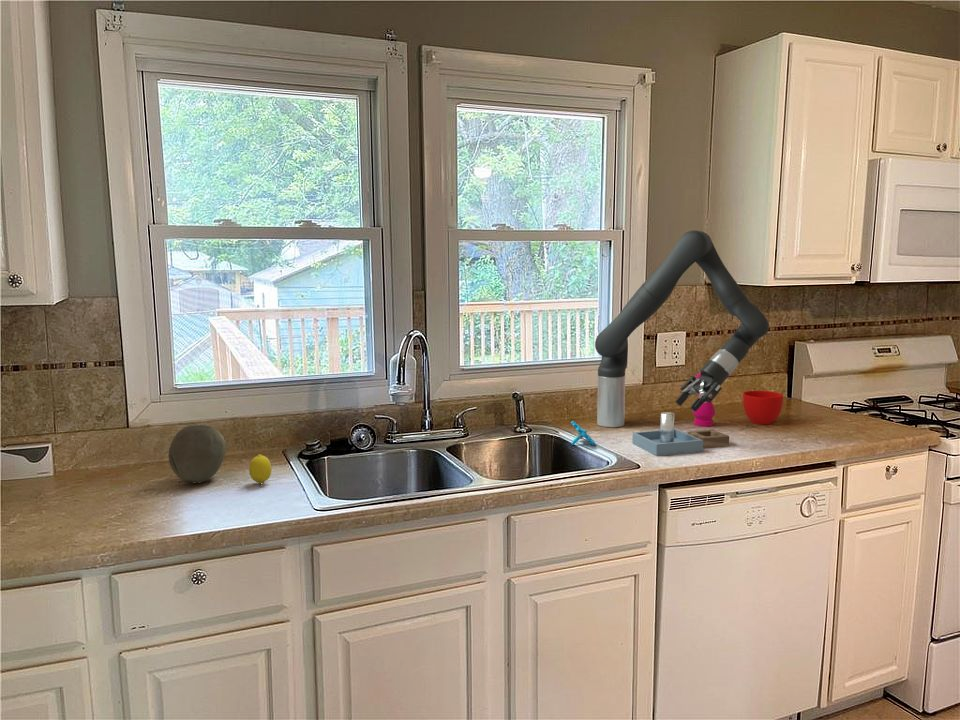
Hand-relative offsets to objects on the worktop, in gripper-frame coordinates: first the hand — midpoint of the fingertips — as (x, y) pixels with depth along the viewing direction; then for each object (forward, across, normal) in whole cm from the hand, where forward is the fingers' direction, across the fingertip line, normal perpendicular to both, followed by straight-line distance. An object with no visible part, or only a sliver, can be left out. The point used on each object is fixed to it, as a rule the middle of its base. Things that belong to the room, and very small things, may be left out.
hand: (684, 406), depth 215 cm
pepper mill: (-6, -23, +24) cm, 33 cm away
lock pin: (+12, 0, +4) cm, 13 cm away
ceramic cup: (-22, -21, +39) cm, 49 cm away
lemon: (+96, 0, -79) cm, 124 cm away
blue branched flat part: (+29, -11, -11) cm, 33 cm away
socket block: (+3, -1, +15) cm, 15 cm away
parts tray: (+13, 0, +5) cm, 14 cm away
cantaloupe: (+108, -8, -90) cm, 141 cm away
